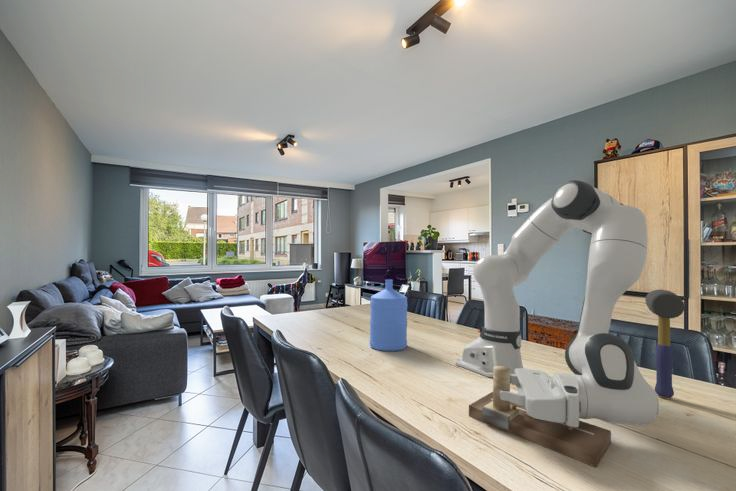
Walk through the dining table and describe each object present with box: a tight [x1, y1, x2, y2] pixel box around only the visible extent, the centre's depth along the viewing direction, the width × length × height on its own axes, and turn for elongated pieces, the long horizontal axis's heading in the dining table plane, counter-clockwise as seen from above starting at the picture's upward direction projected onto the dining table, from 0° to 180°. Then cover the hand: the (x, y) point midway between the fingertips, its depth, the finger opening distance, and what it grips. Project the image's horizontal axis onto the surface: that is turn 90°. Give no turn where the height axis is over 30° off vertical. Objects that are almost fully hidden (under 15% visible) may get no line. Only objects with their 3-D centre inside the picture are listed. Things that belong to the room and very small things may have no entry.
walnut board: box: [468, 391, 612, 468], centre depth 75 cm, size 26×12×3 cm, turn 43°
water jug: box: [369, 278, 408, 352], centre depth 140 cm, size 16×16×28 cm
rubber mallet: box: [645, 289, 686, 400], centre depth 93 cm, size 12×8×30 cm, turn 146°
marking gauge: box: [482, 366, 519, 429], centre depth 77 cm, size 6×6×12 cm
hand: (498, 386), depth 77 cm, fingers open, 8 cm apart
